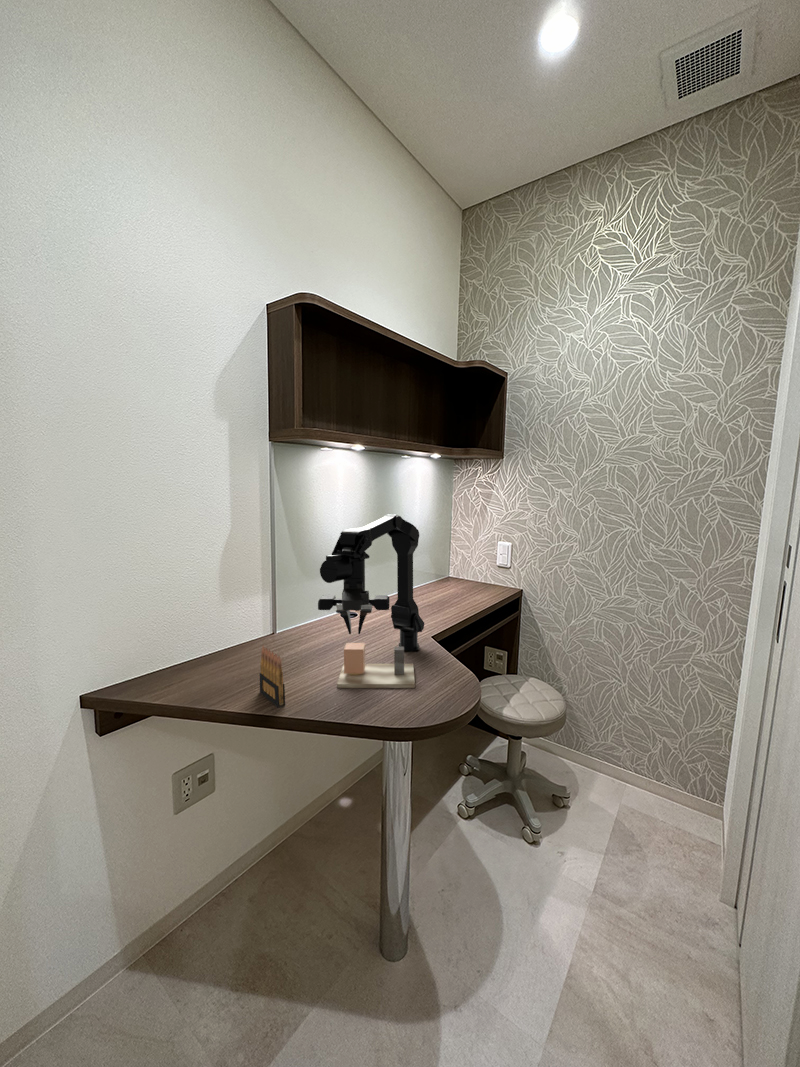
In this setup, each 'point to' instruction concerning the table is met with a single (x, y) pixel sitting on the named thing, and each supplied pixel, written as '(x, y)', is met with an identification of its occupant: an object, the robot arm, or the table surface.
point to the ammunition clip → (272, 678)
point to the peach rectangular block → (354, 658)
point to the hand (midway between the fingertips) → (354, 633)
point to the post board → (381, 675)
